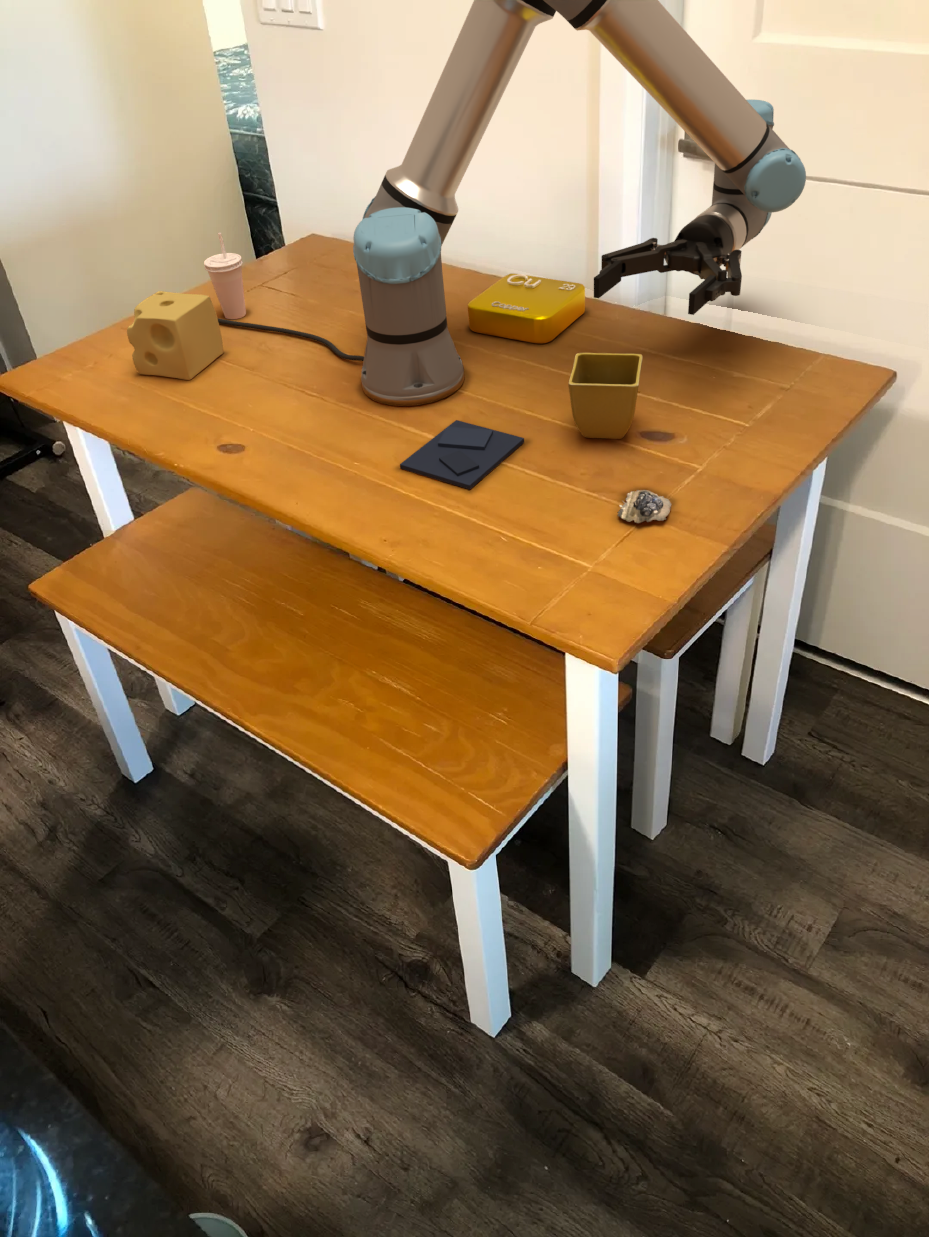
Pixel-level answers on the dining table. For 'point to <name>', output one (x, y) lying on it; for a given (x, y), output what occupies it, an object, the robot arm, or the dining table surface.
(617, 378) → the flower pot
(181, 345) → the cheese
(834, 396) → the dining table surface
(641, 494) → the grey mineral rock
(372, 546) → the dining table surface
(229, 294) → the smoothie
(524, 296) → the element tile
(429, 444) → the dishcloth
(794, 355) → the dining table surface
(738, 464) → the dining table surface
